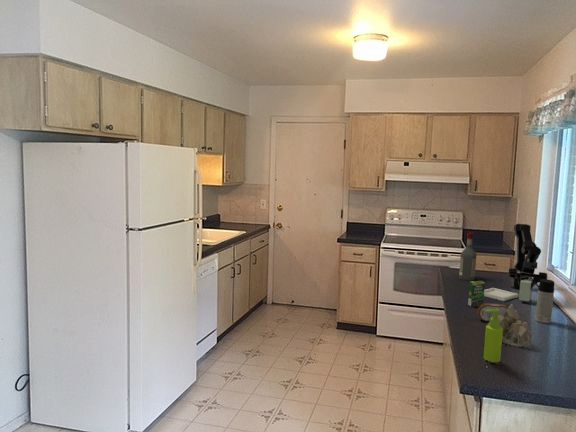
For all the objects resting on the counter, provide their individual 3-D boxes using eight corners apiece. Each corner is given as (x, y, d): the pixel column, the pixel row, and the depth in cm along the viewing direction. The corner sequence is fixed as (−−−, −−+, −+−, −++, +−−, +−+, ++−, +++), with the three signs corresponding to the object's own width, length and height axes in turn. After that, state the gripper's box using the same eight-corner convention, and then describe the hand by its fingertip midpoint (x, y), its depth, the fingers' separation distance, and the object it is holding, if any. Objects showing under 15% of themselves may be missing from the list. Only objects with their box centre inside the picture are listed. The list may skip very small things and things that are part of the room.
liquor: (474, 278, 314) (478, 232, 311) (473, 281, 306) (477, 234, 303) (459, 276, 318) (463, 231, 315) (458, 279, 310) (462, 233, 306)
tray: (492, 290, 285) (493, 287, 284) (518, 297, 273) (518, 293, 272) (478, 294, 276) (478, 291, 275) (503, 301, 263) (504, 297, 263)
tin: (508, 321, 230) (510, 304, 229) (511, 323, 227) (512, 306, 226) (476, 319, 232) (477, 302, 231) (478, 321, 229) (479, 304, 228)
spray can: (549, 320, 234) (553, 279, 232) (552, 324, 228) (556, 283, 225) (534, 318, 236) (538, 278, 234) (536, 322, 230) (540, 281, 227)
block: (520, 297, 265) (521, 279, 264) (530, 299, 263) (531, 281, 261) (518, 299, 261) (520, 281, 260) (529, 301, 259) (530, 283, 257)
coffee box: (470, 307, 251) (472, 282, 249) (467, 305, 254) (468, 281, 252) (483, 306, 253) (485, 281, 252) (479, 304, 256) (481, 280, 255)
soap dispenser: (477, 357, 185) (482, 307, 183) (495, 357, 186) (499, 307, 184) (485, 364, 180) (489, 312, 177) (503, 364, 180) (507, 312, 178)
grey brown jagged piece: (480, 332, 213) (485, 300, 210) (518, 335, 213) (523, 303, 210) (495, 348, 198) (500, 314, 195) (535, 351, 197) (541, 317, 195)
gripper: (510, 253, 267) (505, 276, 260) (548, 258, 257) (544, 282, 249) (511, 265, 275) (506, 288, 267) (548, 270, 265) (544, 294, 257)
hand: (525, 288), depth 260 cm, fingers closed on block, 5 cm apart
